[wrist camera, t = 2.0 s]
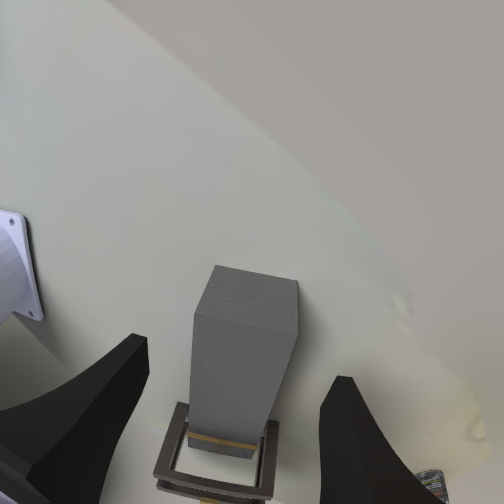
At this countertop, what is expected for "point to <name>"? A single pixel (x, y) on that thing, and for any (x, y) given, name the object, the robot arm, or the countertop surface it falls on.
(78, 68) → the countertop surface
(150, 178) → the countertop surface
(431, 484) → the pill bottle
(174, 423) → the bracket
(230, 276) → the gray rectangular prism
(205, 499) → the dark grey rectangular frame
